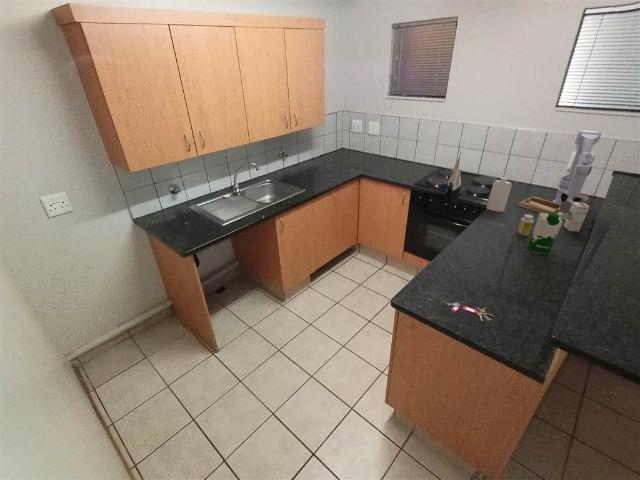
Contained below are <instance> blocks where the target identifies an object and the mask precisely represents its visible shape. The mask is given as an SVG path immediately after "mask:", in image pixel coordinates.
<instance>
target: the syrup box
mask: <svg viewBox="0 0 640 480" xmlns="http://www.w3.org/2000/svg"><path fill="white" fill-rule="evenodd" d="M589 209H590V206H589V205H588V204H586V203H585V202H581V201H580V202H573V203H572V205H571V208H570V210H569V213H568V215H567V217H566V220H564V221H563V224H562V225H563V227H564V228H565V230H567V231H569V232H580V230H581V228H582V225H583V224H584V223H583V222H584V221H585V218H586V216H587V214H588V211H589Z"/></svg>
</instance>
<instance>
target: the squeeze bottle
mask: <svg viewBox="0 0 640 480" xmlns="http://www.w3.org/2000/svg"><path fill="white" fill-rule="evenodd" d="M511 188H512V182H509V181H508V178H507V177H504V176H503V177H502V176H501V177H500V179H499V180H497V179H496V180H494V182H492V187H491V191H490V193H489V198H488V201H487V204H486V209H487V210H490V211H494V212H500V213H501V212H502V213H503V212H504V211H505V209H506V206H507V202H508V200H509V196H510V192H511Z"/></svg>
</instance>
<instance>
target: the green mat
mask: <svg viewBox="0 0 640 480" xmlns="http://www.w3.org/2000/svg"><path fill="white" fill-rule="evenodd" d="M555 214H558V215H559V217H560V218H561V220H564V221H565V220H566V217H567V215H568V214H565V213H562V212H557V213H555Z"/></svg>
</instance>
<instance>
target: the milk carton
mask: <svg viewBox="0 0 640 480" xmlns="http://www.w3.org/2000/svg"><path fill="white" fill-rule="evenodd" d="M563 224H564V221H563V219H561V218H560V217H559V215H558V214H556V213H555V214H554V213H549V214H545V213H539V214H538V217H537V220H536V224H535V226H534V228H533V230H532V231H533V232H532V233H531V236H530V240H529V241H528V242H529V243H528V245H529V246H530V248H531V250H532V251H534V252H541V253H545V254H548V255H549V254H550V252H551V249H552V248H553V246H554V243H555V241H556V239H557V236H558V234H559V232H560V230H561V229H560V228H561V227H562V225H563ZM529 246H528V247H529ZM530 248H529V249H530Z"/></svg>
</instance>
